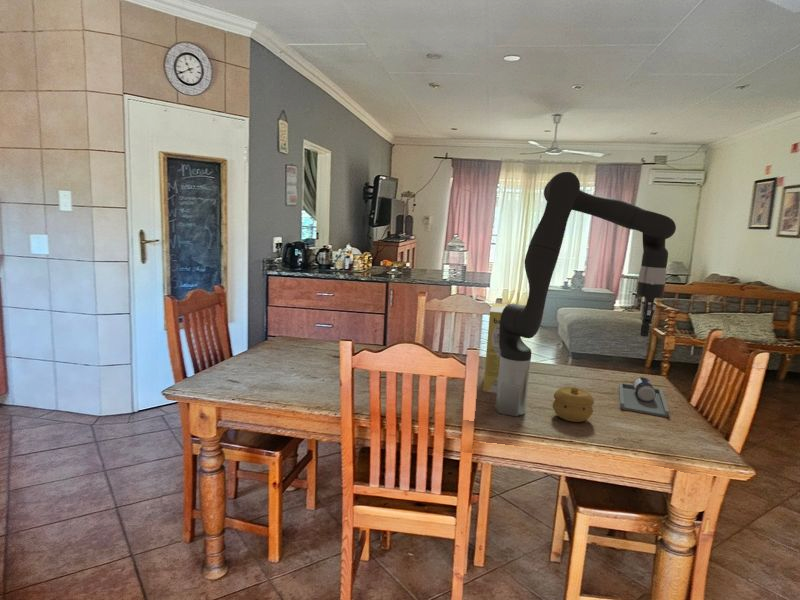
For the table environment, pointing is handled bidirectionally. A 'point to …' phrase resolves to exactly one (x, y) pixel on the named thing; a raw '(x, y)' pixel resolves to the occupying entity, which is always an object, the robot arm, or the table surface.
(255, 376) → the table surface
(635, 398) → the gray tray
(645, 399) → the beverage can
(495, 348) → the pasta box
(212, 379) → the table surface
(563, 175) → the robot arm
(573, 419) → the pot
